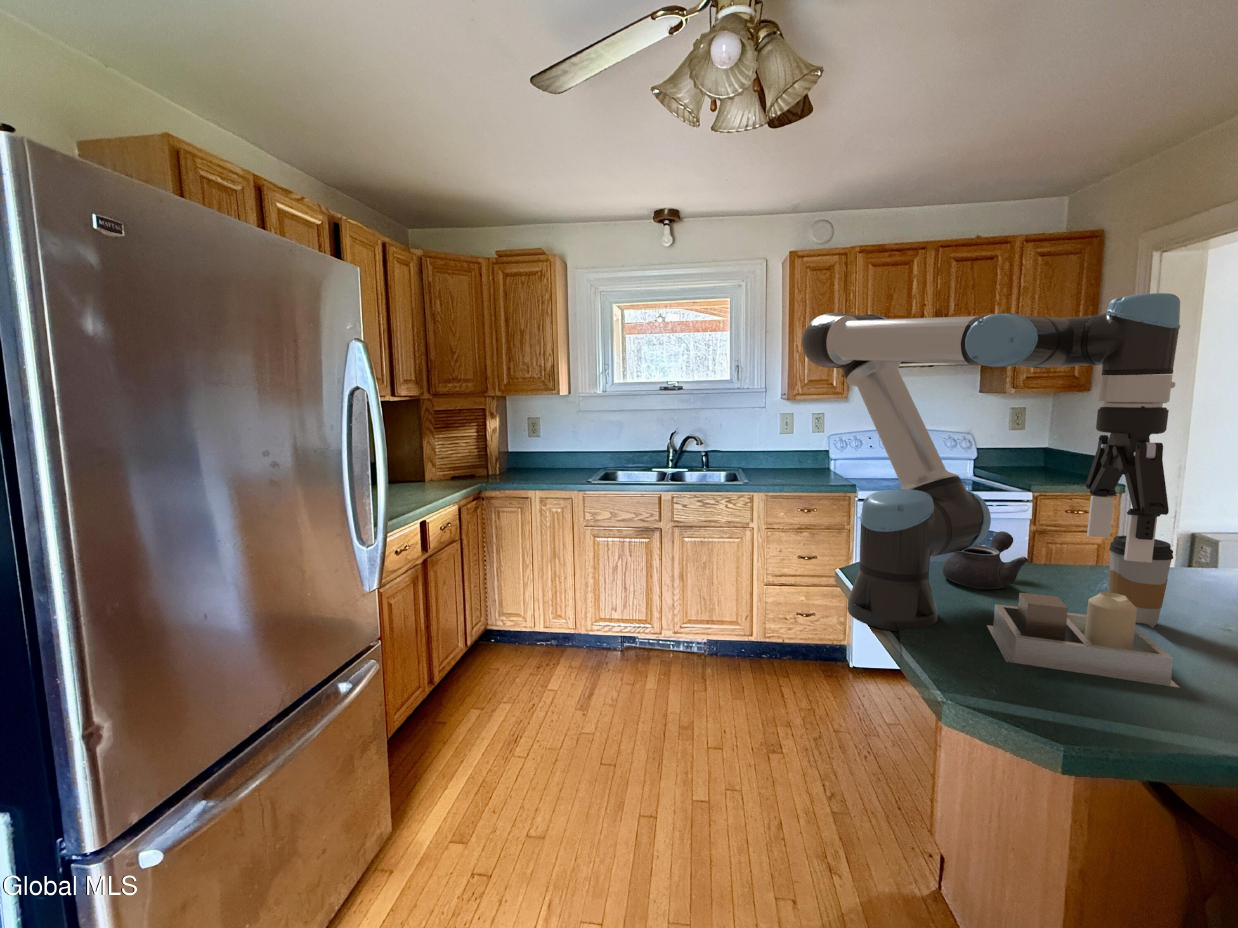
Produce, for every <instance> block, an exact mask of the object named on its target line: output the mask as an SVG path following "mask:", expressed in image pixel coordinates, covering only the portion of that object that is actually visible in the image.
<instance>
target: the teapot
mask: <svg viewBox="0 0 1238 928" xmlns="http://www.w3.org/2000/svg"><path fill="white" fill-rule="evenodd" d="M1013 543H1014V537H1013V536H1012V534H1011V533H1009V532H1007V531H1002V530H1001V531H998V532H996V533H995V534H994V535H993V536H992V539H991V547H989V546H985V545H981V544H980V545H979V544H977V545H976V546H974V547H971V548H968V549H966V550H963V551H961V552H956V553H954V552H952V553H951V555H950V556H949V557H948V558H947V559H946V560H945V563H944V564H943V567H942V574H943V576H944V577H945V579H948V581H951V582H953V583H955V584H958V585H961V586H964V587H969V588H972V589H979V590H982V589H983V590H993V589H1001V588H1005V587H1006V586H1009V585H1011V584H1013V583H1015V581H1016V579H1017V576H1018V574H1019V572H1020V571H1021V568H1022V567H1023V566H1024V565H1026V564H1029V561H1030V560H1029V559H1028V558H1027V557H1026V556H1020V557H1017V558H1014V559H1012V560H1010V561H1007V562H1005V561H1002V558H1001V557H1000V555H1001V554H1002V552H1004V551H1007V550H1009V548H1011V547H1012V545H1013Z"/></svg>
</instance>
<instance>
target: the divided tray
mask: <svg viewBox="0 0 1238 928" xmlns="http://www.w3.org/2000/svg"><path fill="white" fill-rule="evenodd" d="M993 613H994V614H993V625H989V624H987V625H986V627H987V629H988V631H989V633H990V634H991V637H992V638H993V640H994V642H995V644H996V646H997V648H998V649H999V650H1000V653H1001V654H1002V657H1003V659H1004V660H1005V662H1007V663H1013V664H1020V665H1027V666H1033V667H1039V668H1040V667H1041V668H1047V669H1053V670H1061V671H1067V672H1073V673H1079V674H1085V675H1086V674H1087V675H1093V676H1099V677H1100V676H1101V677H1107V678H1113V679H1119V680H1126V681H1133V682H1139V683H1145V684H1153V685H1158V686H1159V685H1160V686H1167V687H1171V688H1172V687H1173V688H1181V687H1180V686H1179V685H1178V684H1177V683H1176V682H1175V681H1173V680H1172V673H1173V667H1174V661H1175V660H1174V658H1173V656H1171V654H1169V653H1168V652H1166V651H1165V650H1164V649H1163V648H1161V646H1159V645H1158V644H1157V643H1156V642H1155V641H1154V640H1152V639H1151V638H1150V637H1149V636H1148V635H1147V634H1145V633H1144V632H1143V631H1142V630H1140V629H1139V628H1138V627H1137V626H1136V625H1135V632H1134V641H1133V650H1125V649H1117V648H1110V647H1103V646H1095V645H1092V644H1091V643H1090V641H1089V640H1088V639H1087V638H1086V637H1085V629H1086V619H1087V614H1082V613H1072V612H1067V623H1066V633H1065V641H1058V640H1050V639H1043V638H1035V637H1028V636H1022V634H1021V633H1020V631H1019V630H1018V628H1017V615H1018V606H1015V605H1004V604H996V603H995V604H994V611H993Z"/></svg>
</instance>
